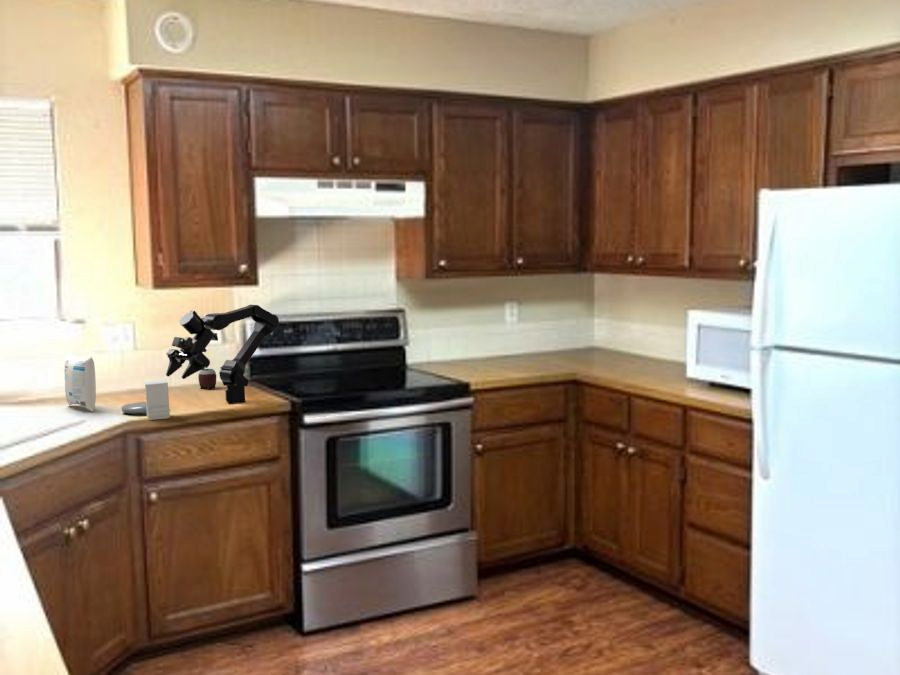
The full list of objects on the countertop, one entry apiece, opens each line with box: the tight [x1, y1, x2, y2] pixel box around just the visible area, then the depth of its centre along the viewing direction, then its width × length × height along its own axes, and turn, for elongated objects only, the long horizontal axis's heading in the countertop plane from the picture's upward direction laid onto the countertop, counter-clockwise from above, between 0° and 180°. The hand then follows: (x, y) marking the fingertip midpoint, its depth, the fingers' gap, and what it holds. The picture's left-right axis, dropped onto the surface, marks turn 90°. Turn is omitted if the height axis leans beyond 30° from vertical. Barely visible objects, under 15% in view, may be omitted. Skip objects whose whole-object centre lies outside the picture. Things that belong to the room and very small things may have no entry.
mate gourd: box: [198, 368, 217, 391], centre depth 364 cm, size 8×8×15 cm
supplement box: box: [144, 379, 171, 421], centre depth 309 cm, size 7×7×13 cm
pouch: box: [64, 352, 97, 413], centre depth 326 cm, size 8×19×20 cm, turn 44°
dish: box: [121, 401, 147, 415], centre depth 320 cm, size 15×15×2 cm
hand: (174, 377), depth 314 cm, fingers open, 9 cm apart
